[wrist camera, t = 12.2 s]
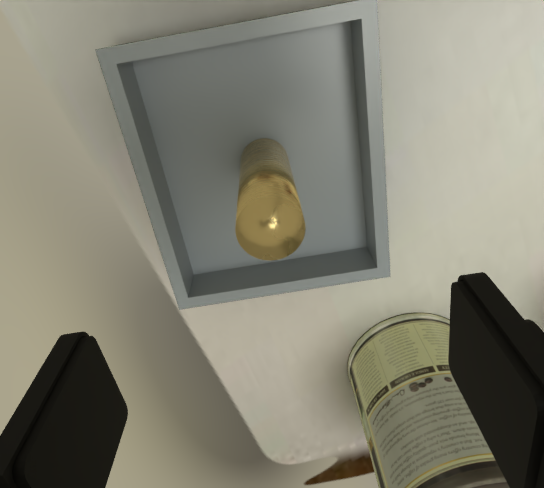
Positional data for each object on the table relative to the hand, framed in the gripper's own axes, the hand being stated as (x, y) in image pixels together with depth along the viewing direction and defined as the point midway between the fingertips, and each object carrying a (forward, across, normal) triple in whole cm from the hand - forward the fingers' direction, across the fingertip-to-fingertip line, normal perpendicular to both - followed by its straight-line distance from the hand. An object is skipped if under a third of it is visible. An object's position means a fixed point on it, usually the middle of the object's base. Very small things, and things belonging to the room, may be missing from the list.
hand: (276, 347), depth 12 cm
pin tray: (+18, 0, +1) cm, 19 cm away
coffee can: (+18, -8, +20) cm, 28 cm away
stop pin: (+18, 0, +1) cm, 18 cm away
